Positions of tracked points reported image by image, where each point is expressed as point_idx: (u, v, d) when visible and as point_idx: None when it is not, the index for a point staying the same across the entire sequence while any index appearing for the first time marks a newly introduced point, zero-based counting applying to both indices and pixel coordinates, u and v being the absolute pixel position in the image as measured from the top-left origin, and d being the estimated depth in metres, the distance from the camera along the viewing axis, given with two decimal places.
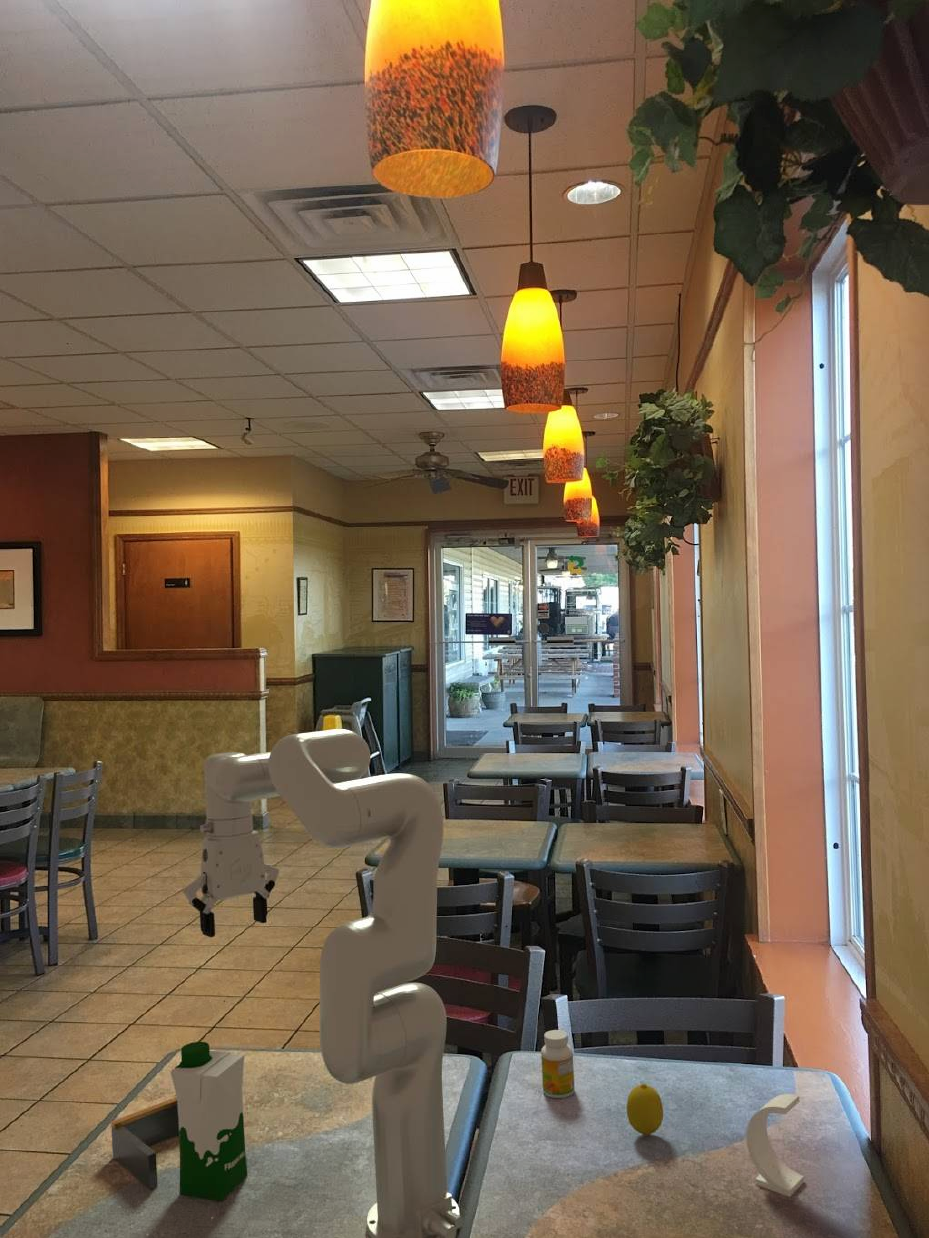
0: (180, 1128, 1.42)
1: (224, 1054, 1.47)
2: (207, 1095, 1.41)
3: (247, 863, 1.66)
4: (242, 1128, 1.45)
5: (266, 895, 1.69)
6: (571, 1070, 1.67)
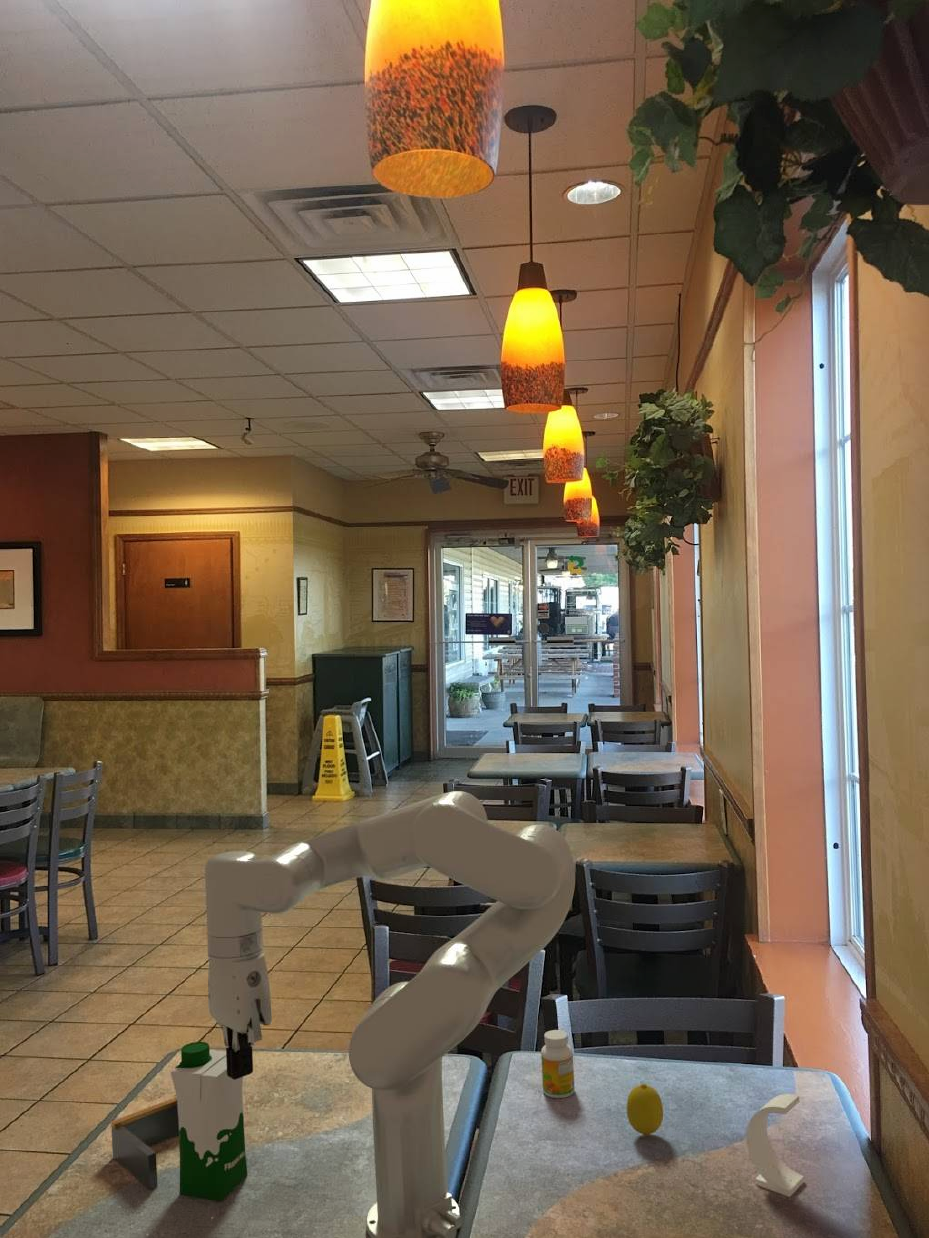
0: (180, 1128, 1.42)
1: (224, 1054, 1.47)
2: (207, 1095, 1.41)
3: None
4: (242, 1128, 1.45)
5: None
6: (571, 1070, 1.67)
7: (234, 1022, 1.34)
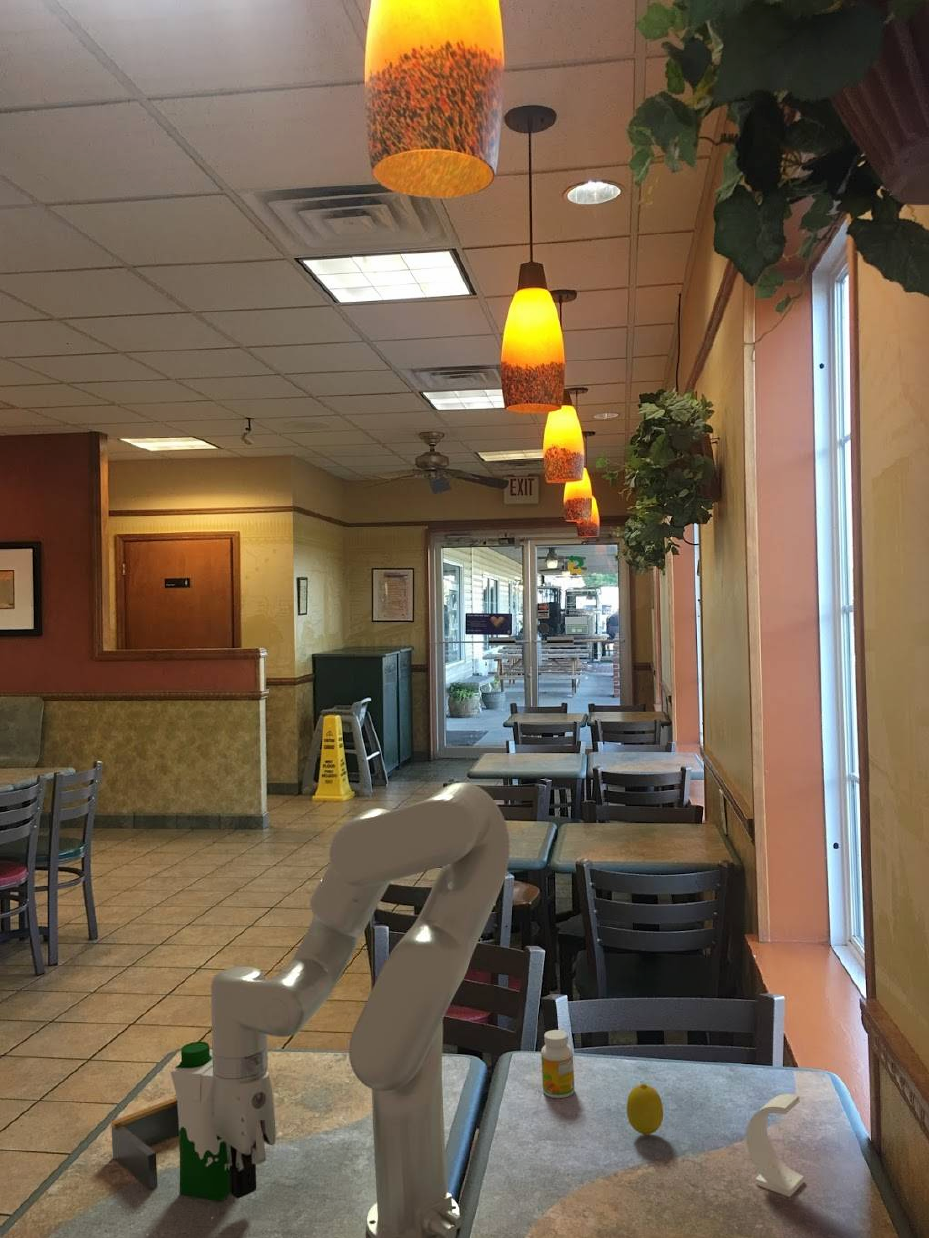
0: (180, 1128, 1.42)
1: None
2: (207, 1095, 1.41)
3: None
4: None
5: None
6: (571, 1070, 1.67)
7: (238, 1143, 1.34)
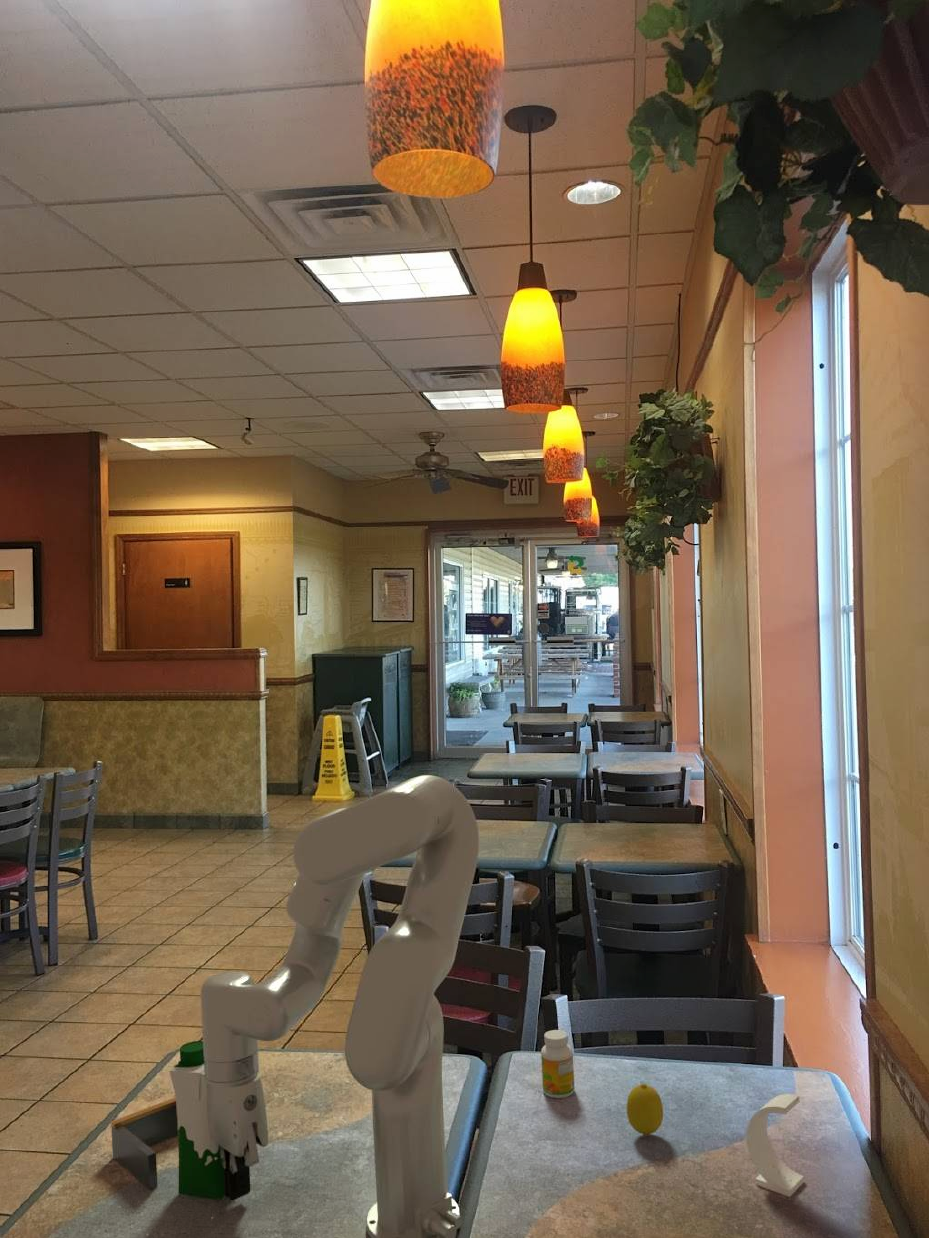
0: (179, 1127, 1.42)
1: None
2: (206, 1093, 1.41)
3: None
4: None
5: None
6: (571, 1070, 1.67)
7: (231, 1146, 1.36)
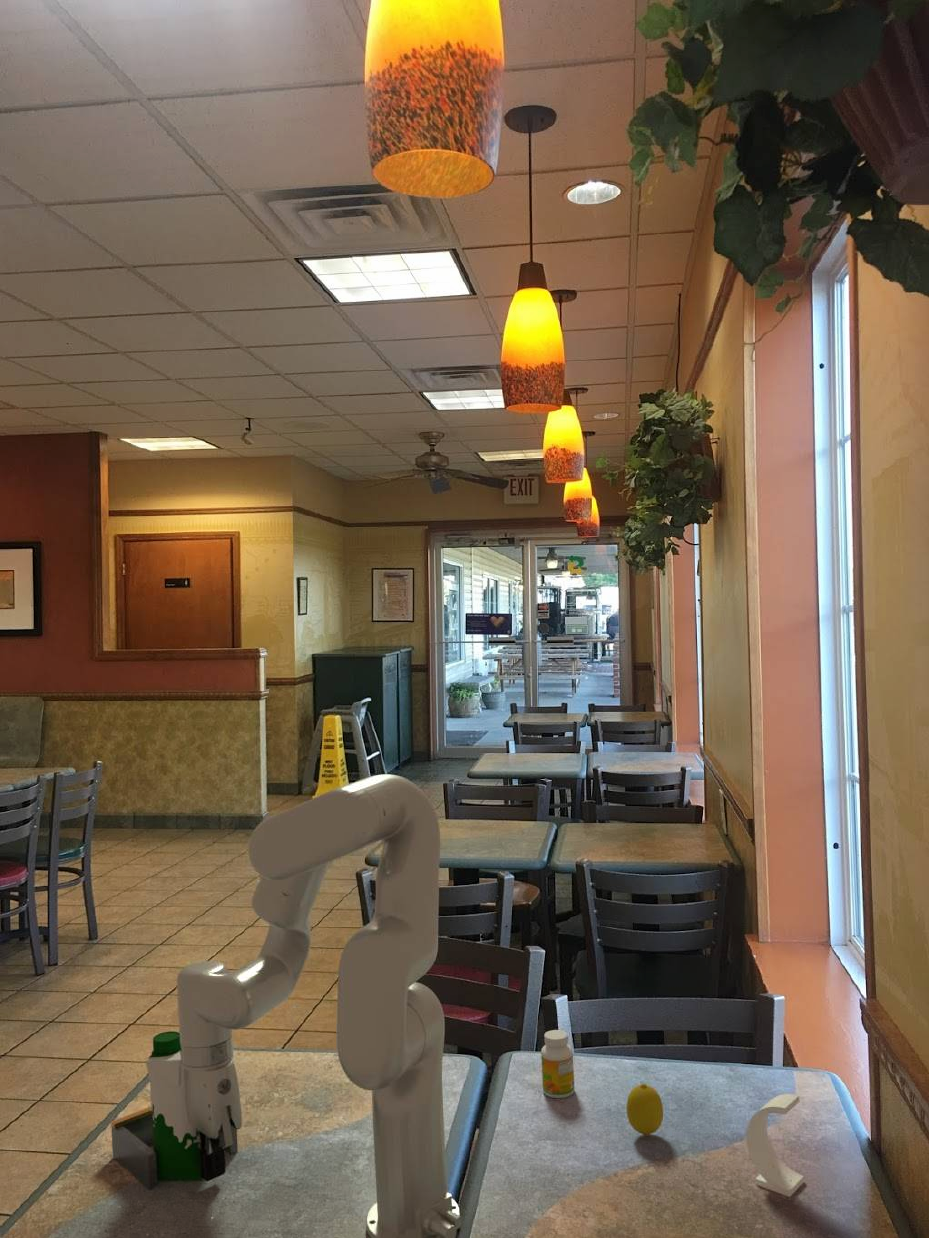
0: (157, 1115, 1.46)
1: None
2: None
3: None
4: None
5: None
6: (571, 1070, 1.67)
7: (206, 1128, 1.42)
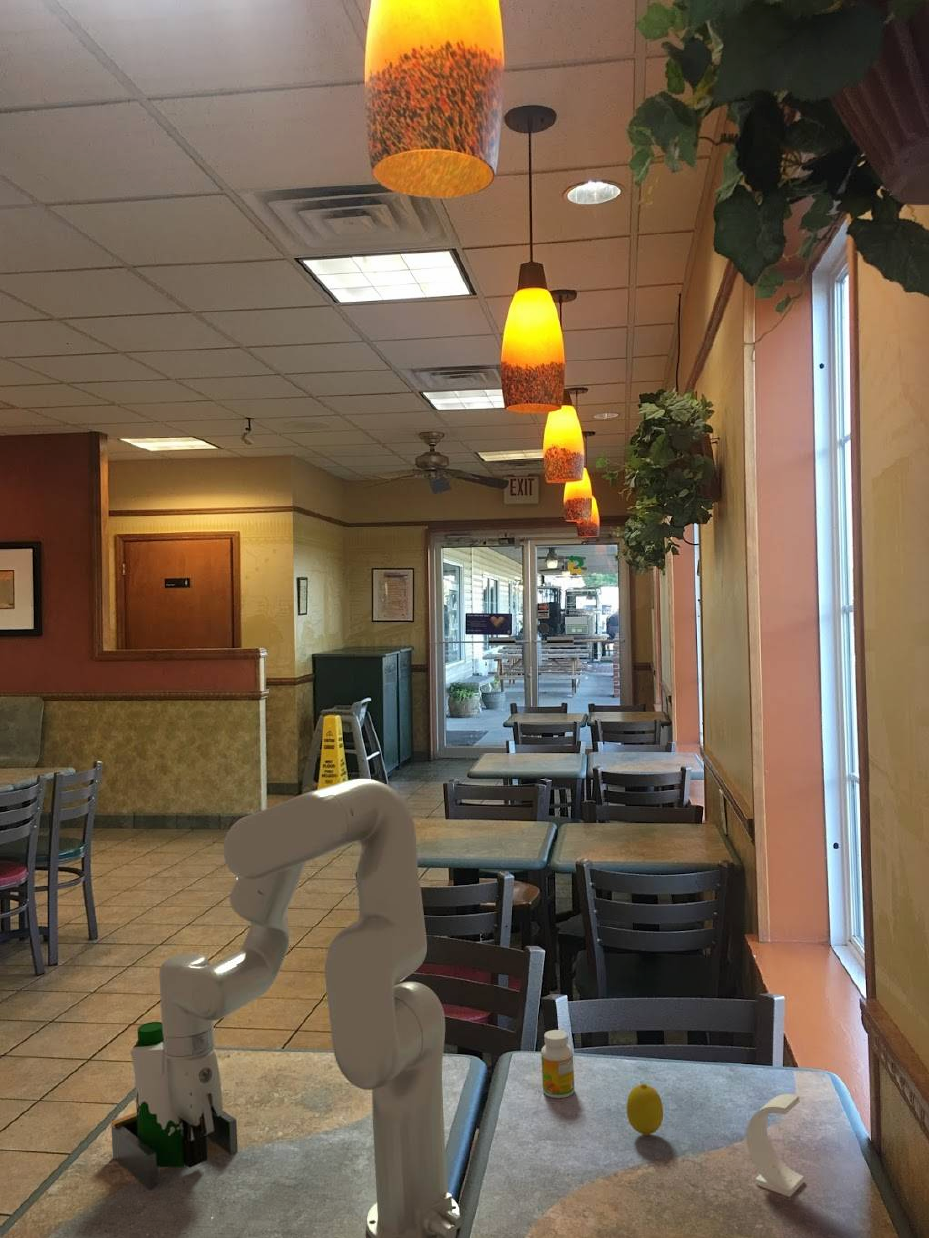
0: (141, 1103, 1.51)
1: None
2: None
3: None
4: None
5: None
6: (571, 1070, 1.67)
7: (188, 1115, 1.46)
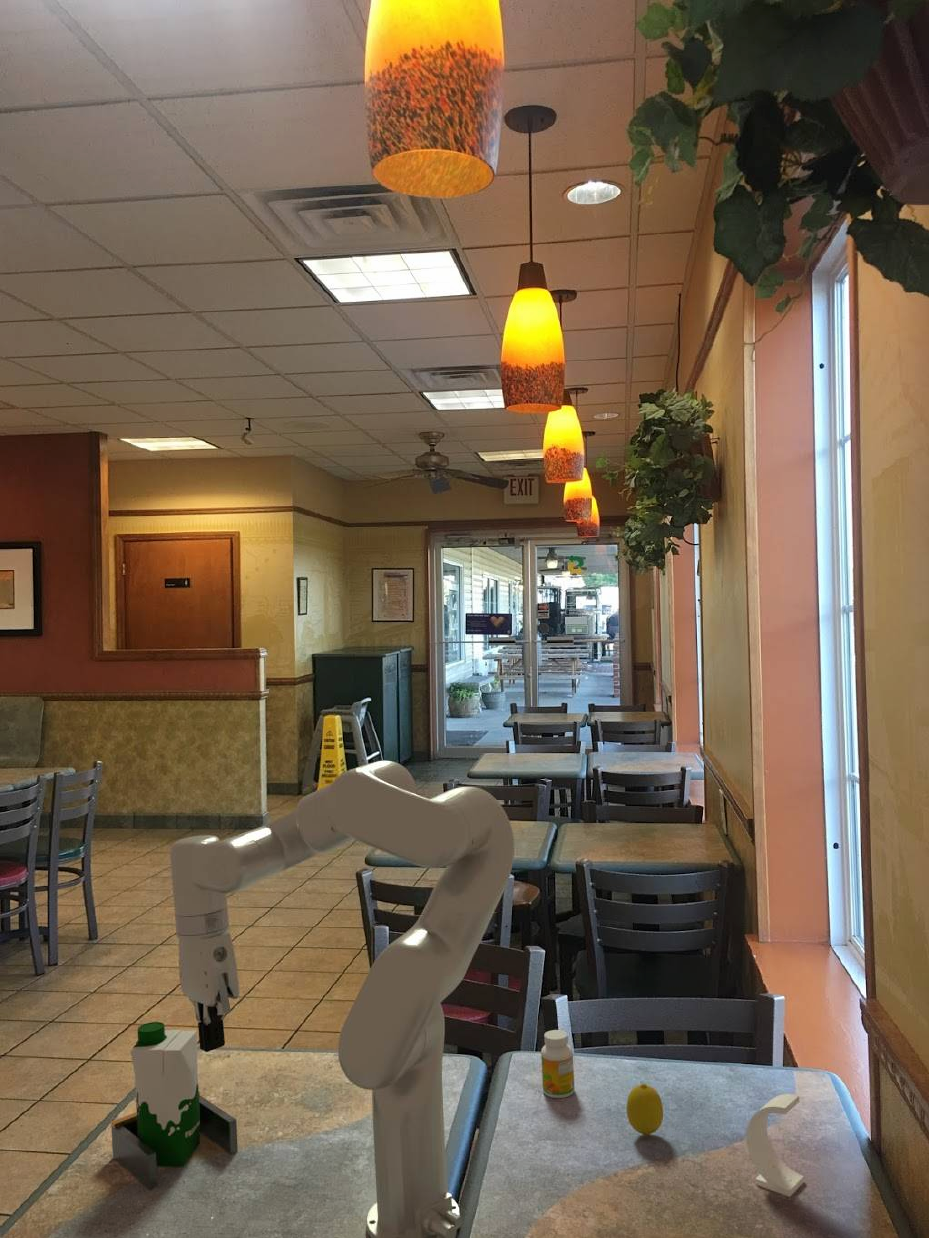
0: (141, 1103, 1.51)
1: (177, 1032, 1.57)
2: (170, 1068, 1.50)
3: None
4: (198, 1098, 1.55)
5: None
6: (571, 1070, 1.67)
7: (203, 996, 1.42)
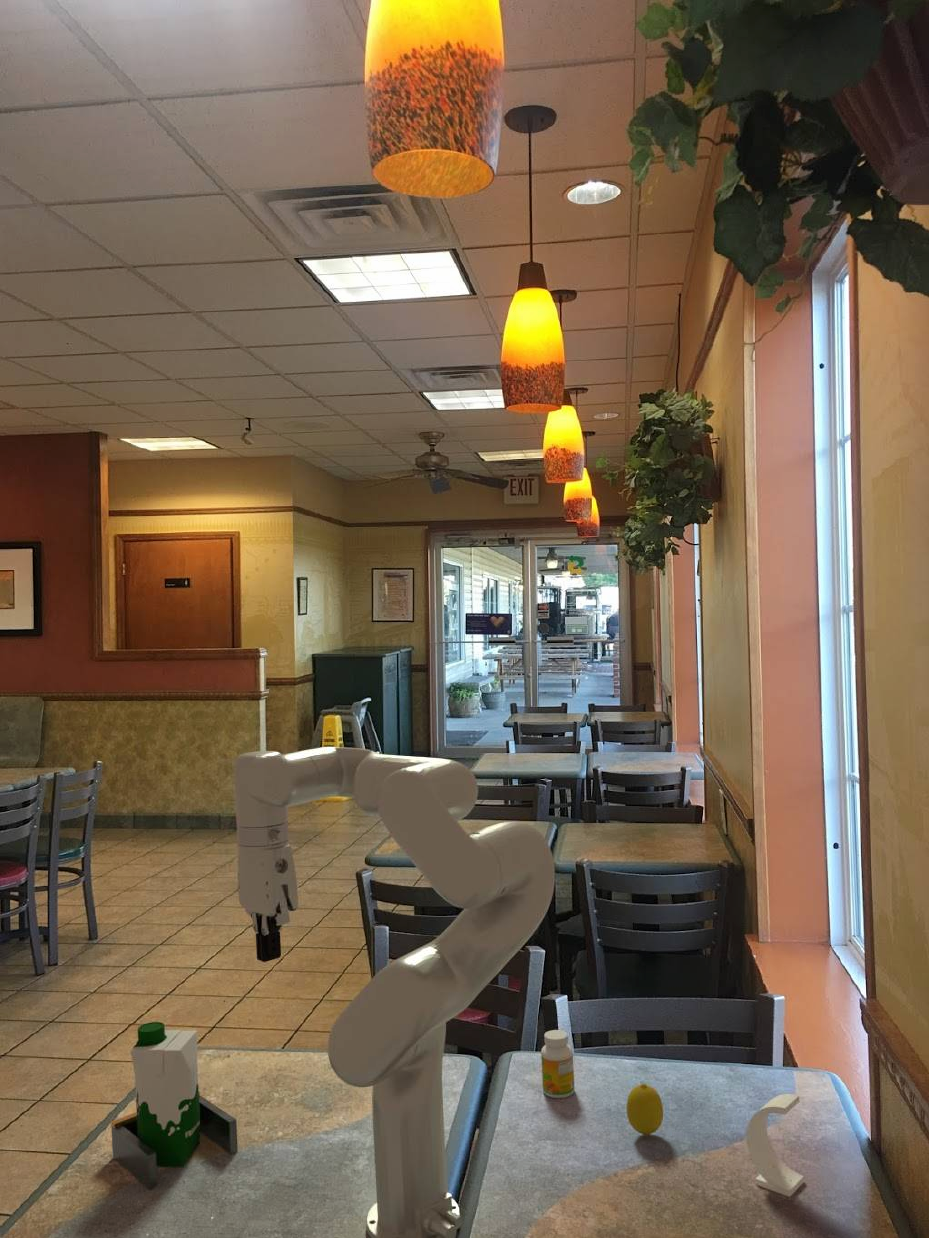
0: (141, 1103, 1.51)
1: (177, 1032, 1.57)
2: (170, 1068, 1.50)
3: None
4: (198, 1098, 1.55)
5: None
6: (571, 1070, 1.67)
7: (263, 906, 1.44)
